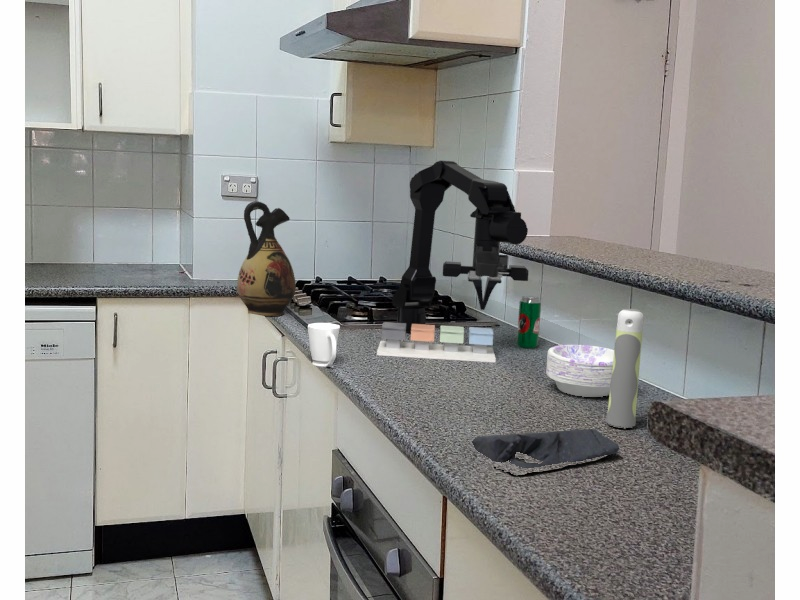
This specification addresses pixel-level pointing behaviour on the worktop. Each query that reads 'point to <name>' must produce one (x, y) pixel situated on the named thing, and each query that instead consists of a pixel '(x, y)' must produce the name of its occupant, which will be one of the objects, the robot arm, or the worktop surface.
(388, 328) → the key charcoal
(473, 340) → the key blue
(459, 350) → the keypad
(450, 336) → the key sage
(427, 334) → the key terracotta
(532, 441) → the crumpled dark cloth
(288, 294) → the ceramic jug
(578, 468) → the worktop surface
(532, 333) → the soda can
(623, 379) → the spray bottle
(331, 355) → the cup
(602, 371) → the paper bowls
